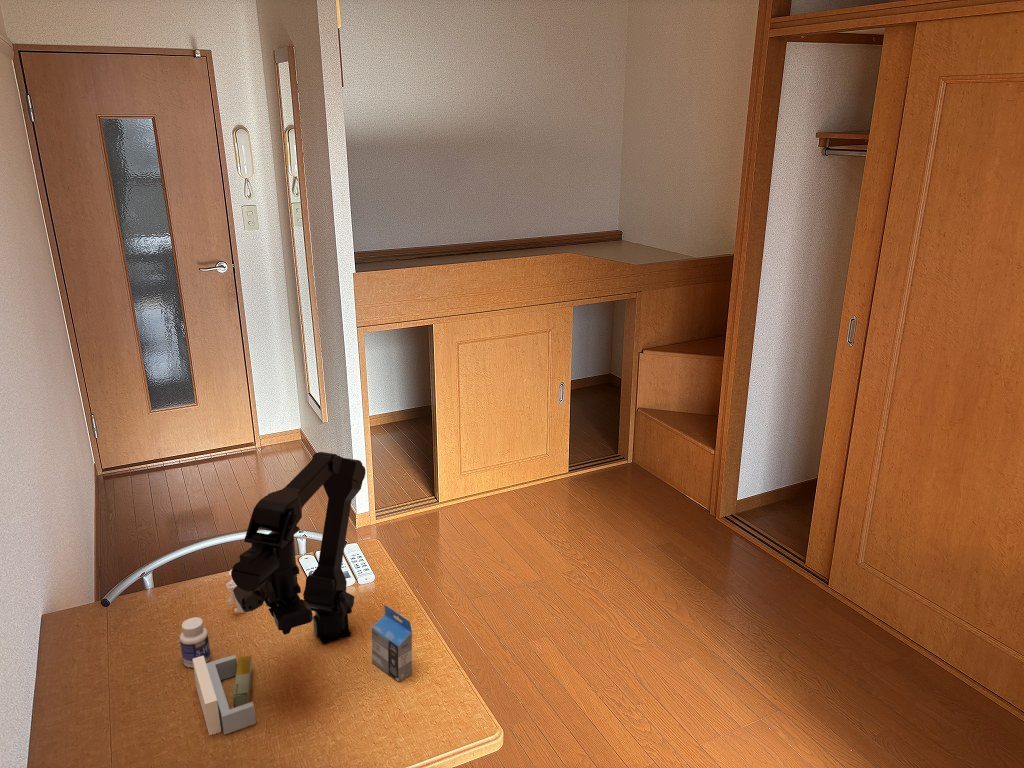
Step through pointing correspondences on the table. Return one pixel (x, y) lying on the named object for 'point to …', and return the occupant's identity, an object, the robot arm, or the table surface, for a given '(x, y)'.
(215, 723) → the wall
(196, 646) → the pill bottle
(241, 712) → the cradle
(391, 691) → the table surface
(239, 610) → the flower shoulder figurine
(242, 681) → the medication box
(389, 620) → the label tape box
